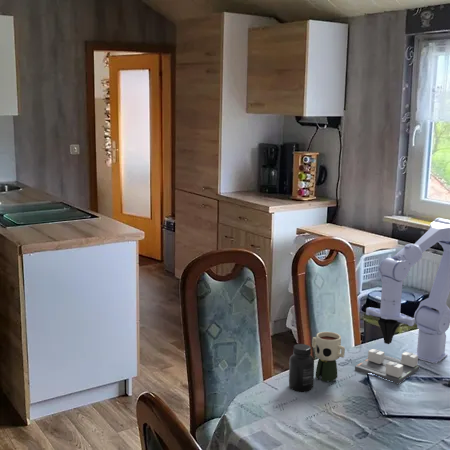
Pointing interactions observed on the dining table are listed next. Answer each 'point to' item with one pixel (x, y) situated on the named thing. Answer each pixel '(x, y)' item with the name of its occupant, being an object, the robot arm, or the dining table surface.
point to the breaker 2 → (409, 359)
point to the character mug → (327, 354)
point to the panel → (381, 369)
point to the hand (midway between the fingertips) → (387, 342)
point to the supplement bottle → (301, 369)
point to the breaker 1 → (394, 369)
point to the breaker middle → (376, 356)
